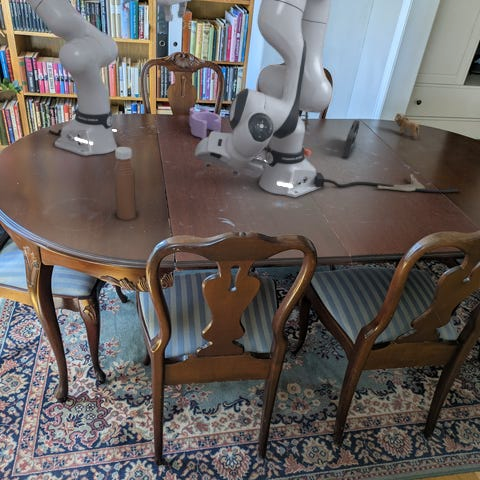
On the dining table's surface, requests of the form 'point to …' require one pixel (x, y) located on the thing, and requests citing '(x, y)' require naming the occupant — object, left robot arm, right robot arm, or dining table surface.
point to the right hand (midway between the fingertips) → (221, 168)
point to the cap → (123, 153)
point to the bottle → (125, 189)
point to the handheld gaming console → (351, 139)
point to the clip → (203, 122)
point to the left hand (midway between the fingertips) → (175, 19)
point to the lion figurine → (406, 124)
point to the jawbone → (405, 187)
